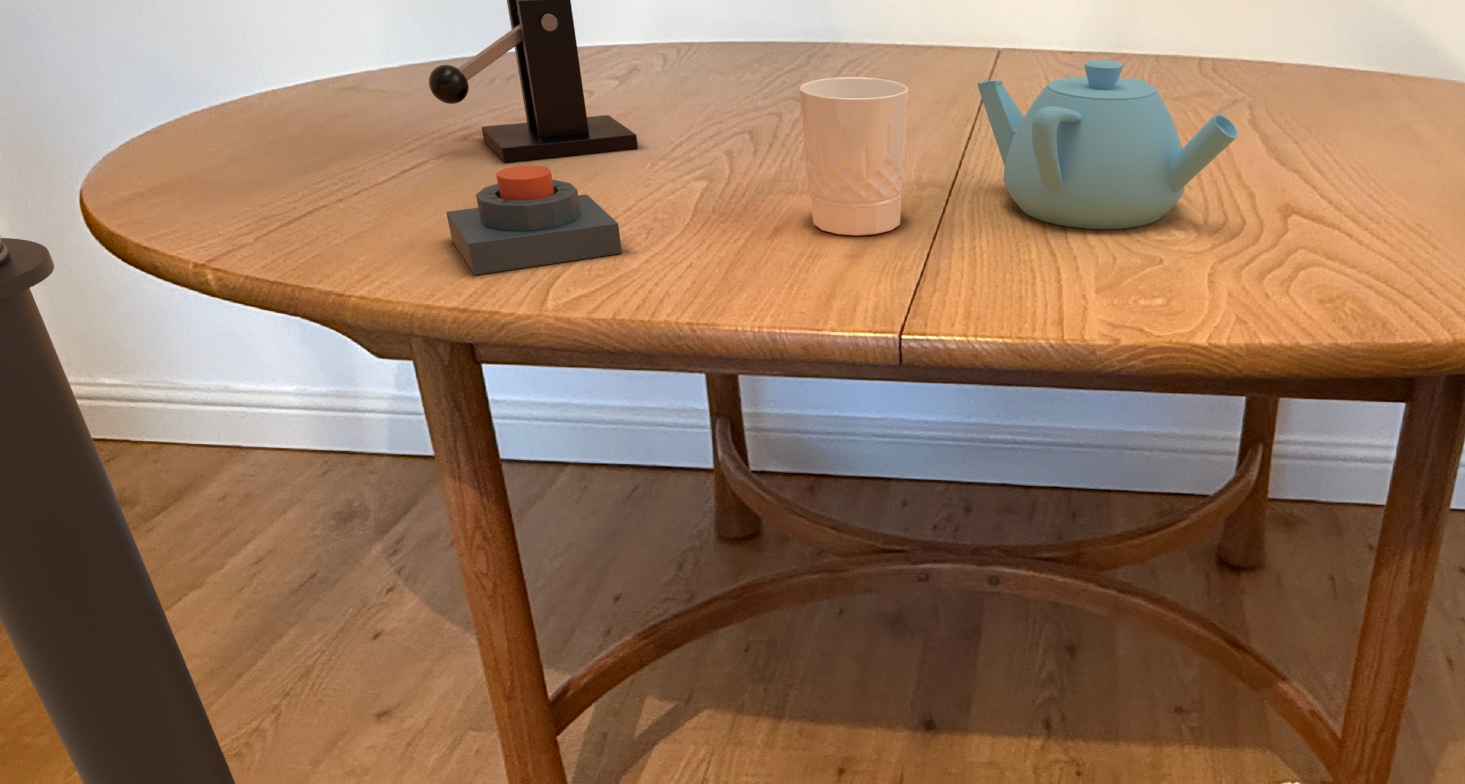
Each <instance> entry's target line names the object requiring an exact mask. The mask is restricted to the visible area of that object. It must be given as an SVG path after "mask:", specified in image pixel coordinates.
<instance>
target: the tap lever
mask: <svg viewBox="0 0 1465 784" xmlns="http://www.w3.org/2000/svg"><path fill="white" fill-rule="evenodd" d="M517 14H518V13H517ZM518 16H519V15H518ZM522 41H523V39H522V33H521V27H520V24H519V25H518V26H516V27H515V28H513V29H512V28H511V30H509V31H508V32H506V33H505V34H504V35H502V36H501V37H499V38H498V39H496V41H494V42H493V43H491V44H490V45H488V46H487V47H486V48H484V49H483V50H481V51H480V52H479V53H478V54H476V55H474V56H473V57H472V58H471V59H468V60H467V61H466V62H465V63H463V64H462V65H461V66H459V67H457V66H454V65H450V64H441V65H438V66H436V67H435V68H434V69H433V70H432V71H431V72H430V74H429V77H428V86H429V89H430V92H431V93H432V95H433V96H434V97H435V98H436V99H437V100H438V101H440V102H442V103H444V104H449V105H454V104H455V105H456V104H458V103H461V102H462V101H464V100H465V99H466V97H467V96H468V94H469V90H470V86H469V85H470V84H469V80H470V79H472V78H473V77H474V76H476V75H478V74H479V73H480V72H481V71H483V70H484V69H485V68H487V67H488V66H490V65H491V64H492V63H494V62H495V61H496V60H498V59H499V58H501V57H502V56H504V55H505V54H506V53H508V52H509V51H510V50H512V49H513V48H515V46H516V45H517V44H519V43H520V42H522Z"/></svg>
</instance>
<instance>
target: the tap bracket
mask: <svg viewBox="0 0 1465 784" xmlns="http://www.w3.org/2000/svg"><path fill="white" fill-rule="evenodd" d="M571 1H572V0H506V3H507V10H508V16H509V21H510V27H511V30H512V29H513V28H515V27H516V26H518V25H519V24H520V27H521V33H522V39H523V41H522V42H520V43H519V44H517V45H516V46H515V47H514V51H515V52H514V53H515V57H516V64H517V69H518V76H519V82H520V89H521V95H522V101H523V105H524V111H525V118H526V122H518V123H508V124H498V125H497V124H496V125H485V126H481V133H482V134H481V135H482V139H483V141H484V143H486V145H487V146H488V147H489V148H490V149H491V150H492V151H493V152H494V153H495V154H496V155H497V156H498V157H499V158H500V159H501V161H503V162H504V163H506V164H507V163H515V162H516V163H517V162H526V161H533V160H535V161H536V160H543V159H552V158H554V159H555V158H563V157H571V156H572V157H573V156H582V155H590V154H591V155H592V154H599V153H601V154H602V153H607V152H618V151H627V150H637V149H639V145H638V137H637V134H636V133H635V132H633V131H632V130H631V129H630V128H627V126H625V125H623V124H622V123H620V122H619V121H617V119H614V117H612V116H611V115H609V114H605V115H596V116H595V115H592V116H588V115H587V107H586V102H585V101H586V99H585V93H584V87H583V80H582V72H581V65H580V58H579V50H578V44H577V43H578V42H577V36H576V30H575V23H574V22H575V21H574V15H573V7H572V2H571ZM517 13H518V14H517ZM518 15H519V16H518Z"/></svg>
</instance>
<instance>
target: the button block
mask: <svg viewBox="0 0 1465 784" xmlns="http://www.w3.org/2000/svg"><path fill="white" fill-rule="evenodd" d="M552 180H553V187H554V193H555V195H552V196H549V197H545V198H541V199H533V200H506V199H502V198H500V193H499V187H498V183H495V184H492V185H488V186H485V187H483V188H482V189H481V190H479V191H478V192H477V193H476V194H475V198H476V203H477V207H472V208H466V209H456V210H448V211H446V218H447V222H448V227H449V230H450V231H449V233H450V237H451V242H452V243H453V244H454V246H455V248H456V249H457V251H458V252H459V254H460V255H461V257H462V258H463V260H464V262H465V263H466V264H467V266H468V267H469V269H470V270H471V272H472V273H473V275H474V276H478V275H484V274H491V273H500V272H506V271H513V270H519V269H524V268H532V267H539V266H545V265H553V264H559V263H560V264H561V263H566V262H573V261H579V260H587V259H594V258H599V257H606V256H614V255H621V254H623V249H622V242H621V233H620V226H619V222H618V221H616V219H614V218H613V217H612V216H611V215H610V214H609V213H608V212H607V211H606V210H604V208H602V207H601V206H600V205H599V204H598V203H597V202H596V201H595V200H594V199H592V197H591V196H589V194H586V193H585V194H579V193H578V188H576V187H575V186H574V184H572V183H570V182H568V181H567V182H566V181H562V180H557V179H552Z"/></svg>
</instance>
